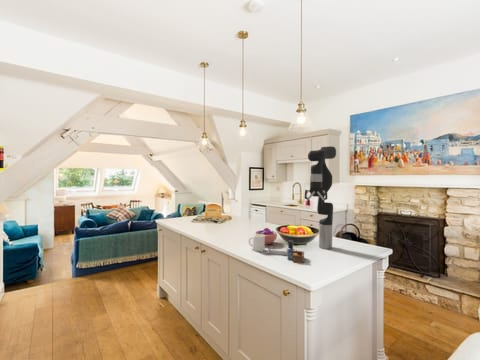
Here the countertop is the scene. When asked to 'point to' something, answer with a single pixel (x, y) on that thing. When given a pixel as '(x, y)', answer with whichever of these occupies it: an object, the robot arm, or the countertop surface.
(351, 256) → the countertop surface
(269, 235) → the cell model
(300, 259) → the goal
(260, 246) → the mug
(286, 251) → the rail
